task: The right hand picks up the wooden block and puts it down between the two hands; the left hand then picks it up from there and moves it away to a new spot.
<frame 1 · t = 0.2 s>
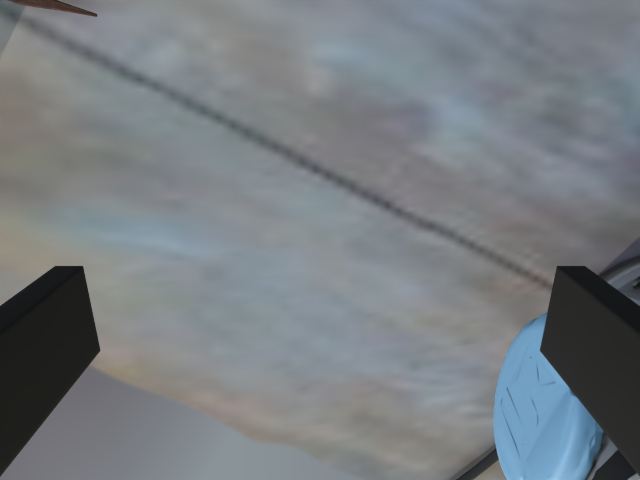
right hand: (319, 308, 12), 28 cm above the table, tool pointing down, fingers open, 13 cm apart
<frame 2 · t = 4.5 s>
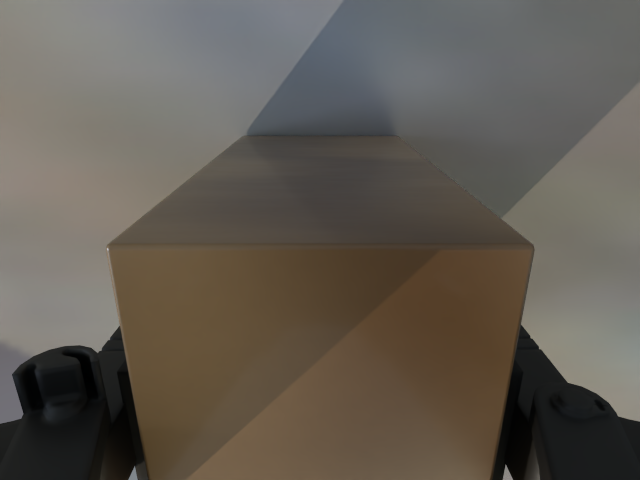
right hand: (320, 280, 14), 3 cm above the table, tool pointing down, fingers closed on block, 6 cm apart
block: (320, 243, 17), on the table, touching right hand
when the right hand's fingers open (4 cm above the table, at t = 17.0 s): block drops 1 cm, on the table.
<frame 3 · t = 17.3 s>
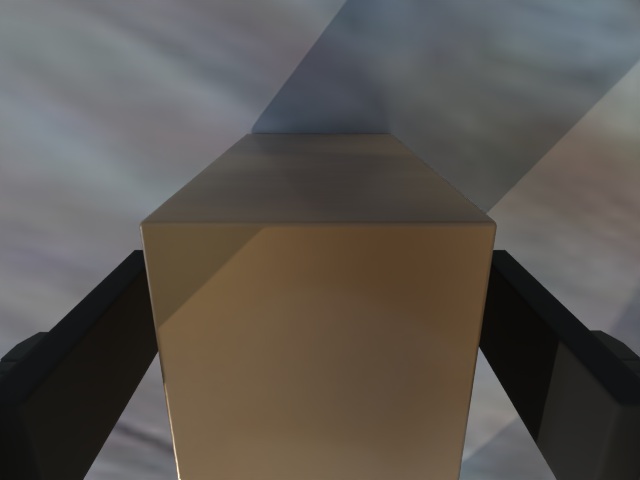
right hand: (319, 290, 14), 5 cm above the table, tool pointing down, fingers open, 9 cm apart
block: (318, 234, 19), on the table
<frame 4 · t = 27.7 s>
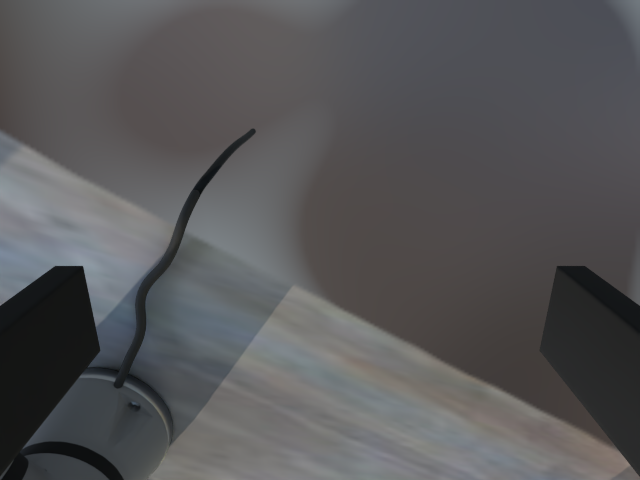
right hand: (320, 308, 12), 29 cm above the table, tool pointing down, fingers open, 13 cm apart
when the left hand's fingers open (5 cm above the table, at t = 32.8 s): block drops 1 cm, on the table.
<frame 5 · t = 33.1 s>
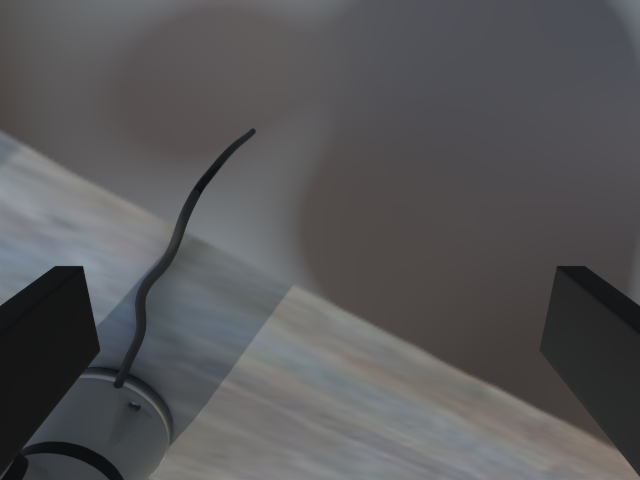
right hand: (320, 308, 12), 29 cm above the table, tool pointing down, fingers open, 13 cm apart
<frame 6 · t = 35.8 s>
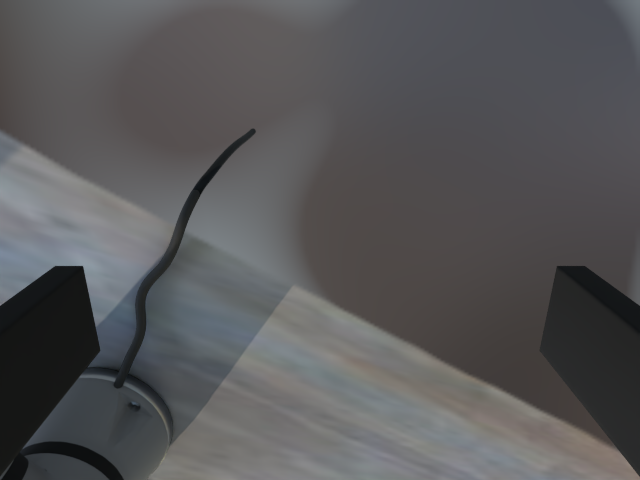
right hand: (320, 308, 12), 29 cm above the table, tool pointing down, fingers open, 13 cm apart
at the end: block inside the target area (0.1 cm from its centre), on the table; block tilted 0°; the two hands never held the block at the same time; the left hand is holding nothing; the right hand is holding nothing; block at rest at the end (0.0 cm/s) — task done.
